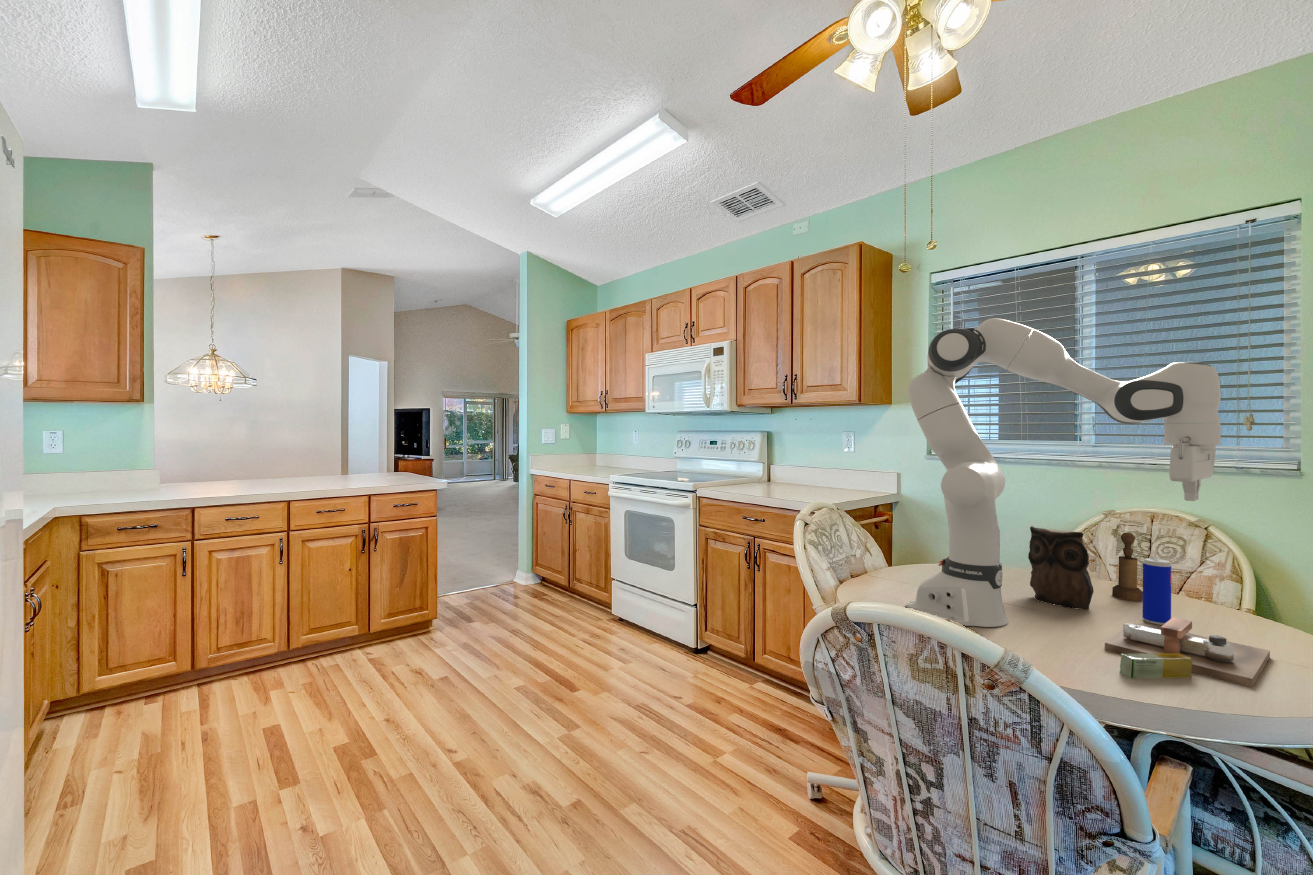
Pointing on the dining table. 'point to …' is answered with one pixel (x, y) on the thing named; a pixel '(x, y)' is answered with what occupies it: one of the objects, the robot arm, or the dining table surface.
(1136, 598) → the brown wooden upright piece
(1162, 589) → the beverage can
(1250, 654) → the walnut base plate
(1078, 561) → the owl
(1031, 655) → the dining table surface
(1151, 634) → the steel link
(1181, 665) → the medication box
